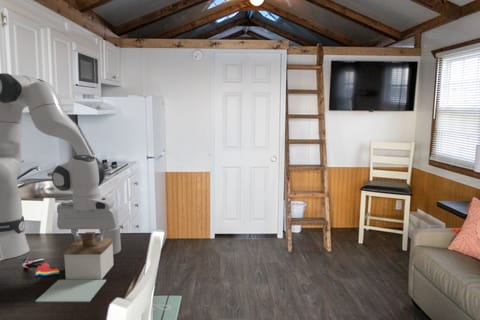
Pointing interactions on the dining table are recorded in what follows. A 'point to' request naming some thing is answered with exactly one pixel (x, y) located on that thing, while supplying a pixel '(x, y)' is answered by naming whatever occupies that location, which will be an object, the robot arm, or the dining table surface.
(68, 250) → the lid
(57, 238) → the dining table surface
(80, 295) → the mat
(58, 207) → the robot arm
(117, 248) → the can
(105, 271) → the white open square box
